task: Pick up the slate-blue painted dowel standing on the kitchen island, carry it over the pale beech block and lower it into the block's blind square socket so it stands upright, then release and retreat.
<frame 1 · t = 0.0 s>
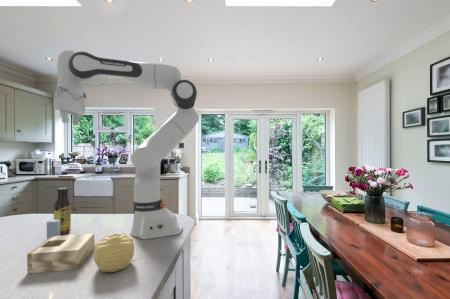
hand: (70, 123, 98), 48 cm above the kitchen island, fingers open, 8 cm apart
sauce bottle: (62, 233, 103), on the kitchen island
pale yellow rounded lump: (115, 267, 74), on the kitchen island
bore block: (64, 260, 78), on the kitchen island
pin: (53, 247, 88), on the kitchen island
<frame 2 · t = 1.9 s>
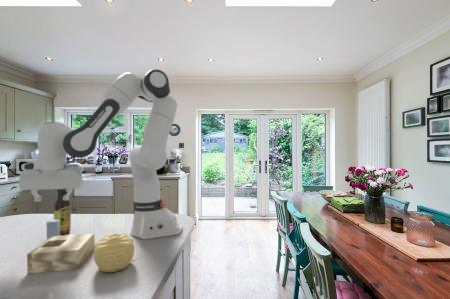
hand: (52, 200, 88), 18 cm above the kitchen island, fingers open, 8 cm apart
nothing on the kitchen island moved.
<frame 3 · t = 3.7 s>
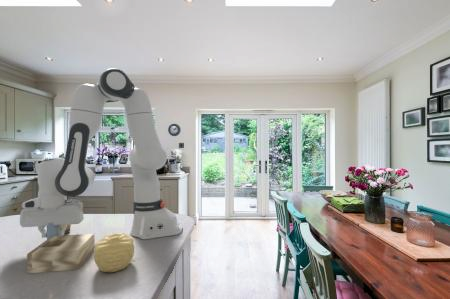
hand: (53, 236, 88), 4 cm above the kitchen island, fingers closed on pin, 4 cm apart
pin: (53, 247, 88), on the kitchen island, touching gripper
everything else where it was.
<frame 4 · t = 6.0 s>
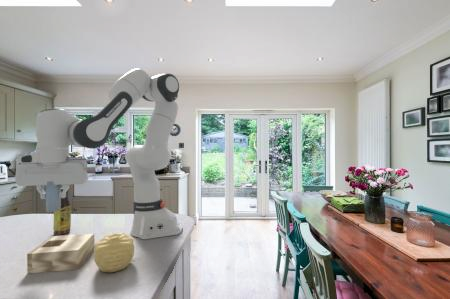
hand: (53, 198, 78), 21 cm above the kitchen island, fingers closed on pin, 4 cm apart
pin: (53, 210, 78), point 17 cm above the kitchen island, touching gripper
everything else where it was.
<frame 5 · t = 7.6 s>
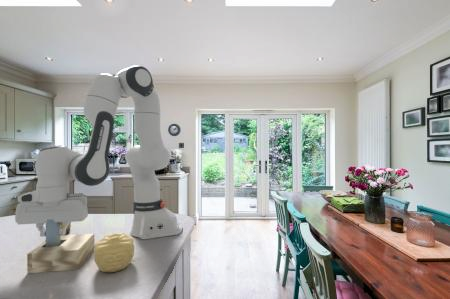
hand: (53, 235, 77), 9 cm above the kitchen island, fingers closed on pin, 4 cm apart
pin: (53, 247, 77), point 5 cm above the kitchen island, touching gripper
everything else where it was.
when the fingers open (7 cm above the kitchen island, at t = 8.7 s): pin drops 1 cm, resting on bore block.
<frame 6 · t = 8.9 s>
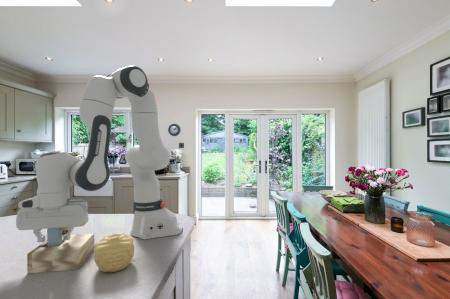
hand: (54, 240, 78), 7 cm above the kitchen island, fingers open, 6 cm apart
pin: (54, 256, 78), point 2 cm above the kitchen island, touching bore block
everything else where it was.
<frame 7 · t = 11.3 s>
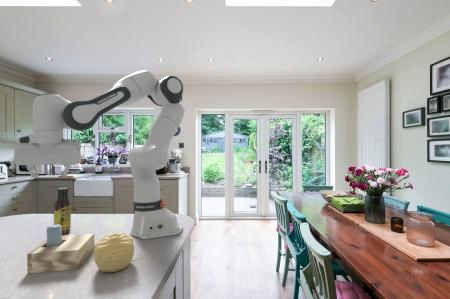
hand: (49, 177, 84), 27 cm above the kitchen island, fingers open, 8 cm apart
nothing on the kitchen island moved.
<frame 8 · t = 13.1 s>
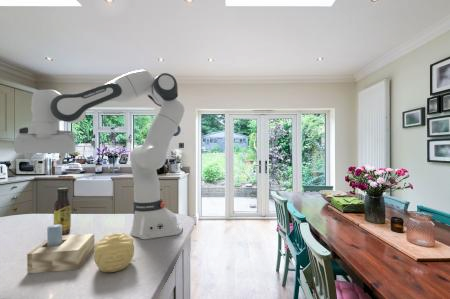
hand: (46, 164, 93), 31 cm above the kitchen island, fingers open, 8 cm apart
nothing on the kitchen island moved.
at the end: pin 0.1 cm from the target spot on the bore block, point 1.7 cm above the bore block's base; pin tilted 2°; the gripper is holding nothing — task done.
